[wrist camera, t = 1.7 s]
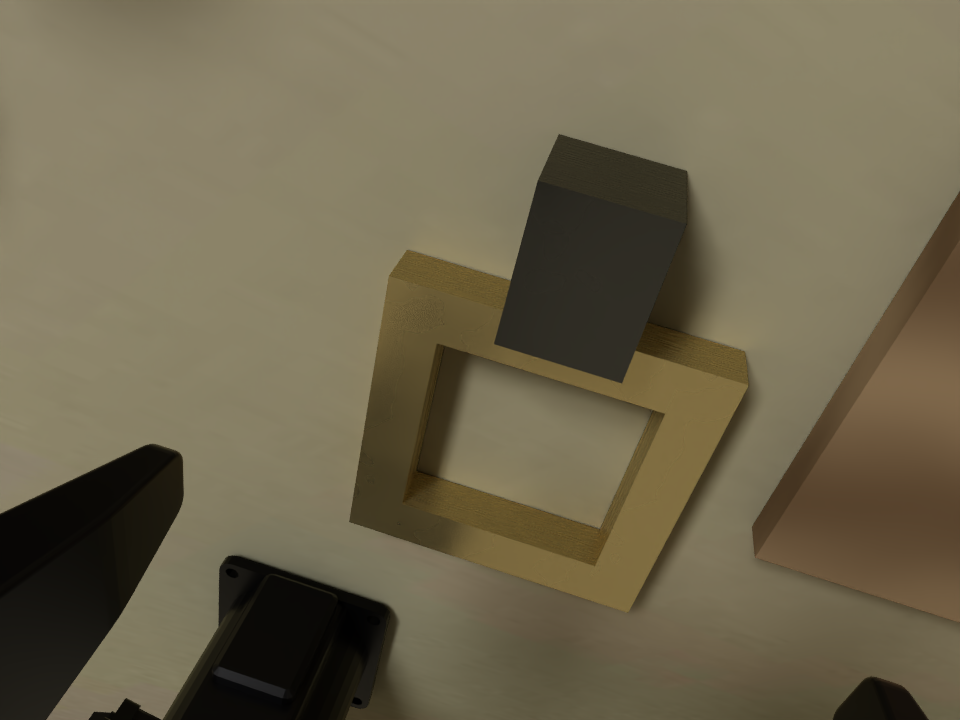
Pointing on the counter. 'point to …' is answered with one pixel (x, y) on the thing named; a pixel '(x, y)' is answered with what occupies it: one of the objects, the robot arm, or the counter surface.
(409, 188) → the counter surface
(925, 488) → the plate
